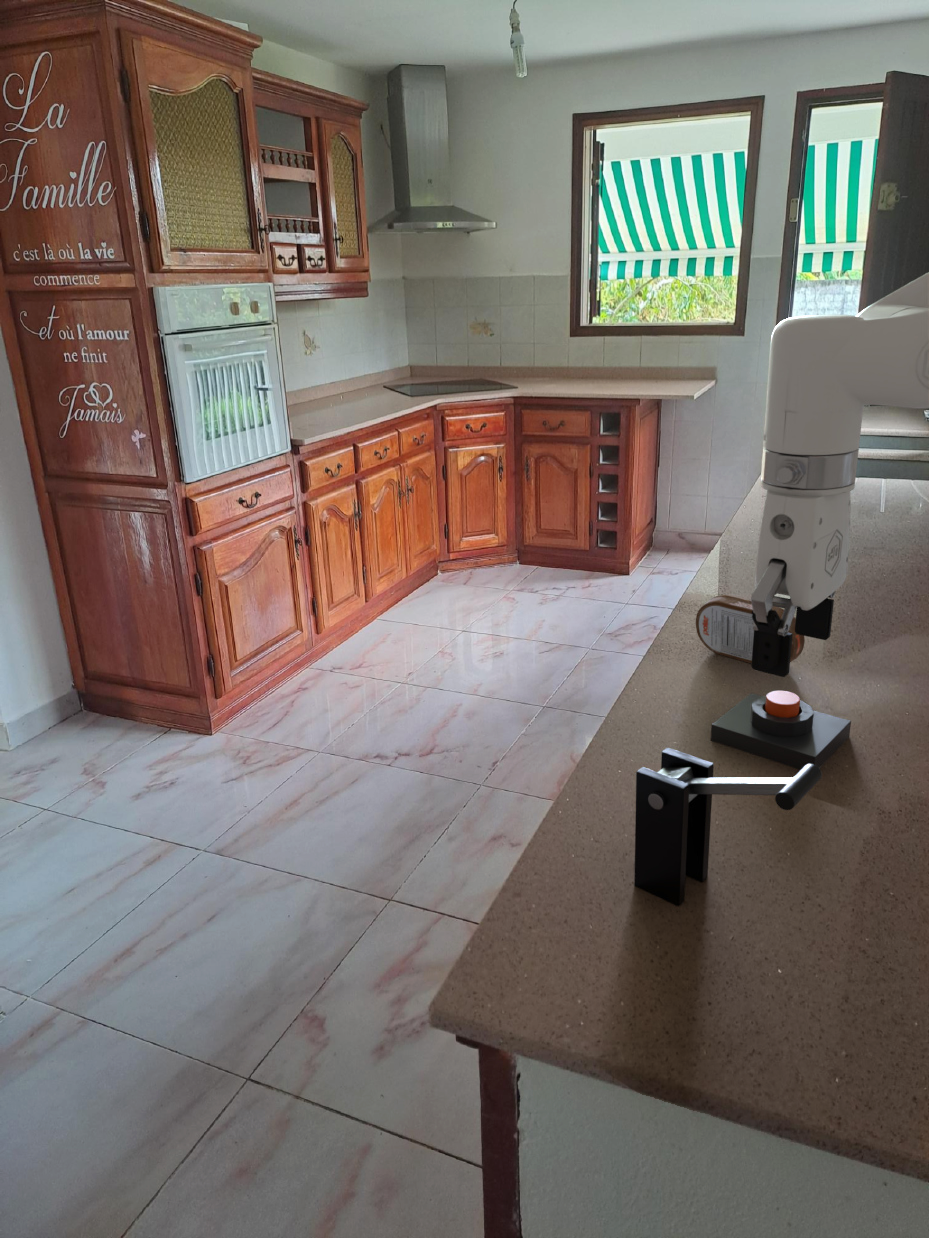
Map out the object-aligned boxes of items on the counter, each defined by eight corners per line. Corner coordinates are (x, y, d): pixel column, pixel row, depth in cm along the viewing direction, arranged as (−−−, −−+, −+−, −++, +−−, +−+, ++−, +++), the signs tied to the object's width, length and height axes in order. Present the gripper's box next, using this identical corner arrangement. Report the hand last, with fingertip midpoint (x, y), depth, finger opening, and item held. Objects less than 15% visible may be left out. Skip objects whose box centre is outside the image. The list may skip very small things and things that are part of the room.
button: (804, 709, 100) (805, 695, 99) (790, 721, 97) (791, 707, 96) (773, 701, 102) (774, 687, 101) (759, 712, 99) (760, 698, 99)
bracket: (752, 892, 77) (762, 765, 72) (702, 949, 71) (709, 815, 66) (643, 845, 84) (646, 726, 79) (589, 893, 78) (588, 768, 73)
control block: (849, 737, 100) (852, 706, 99) (813, 775, 94) (816, 742, 92) (750, 708, 108) (752, 679, 107) (710, 741, 101) (712, 710, 100)
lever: (825, 786, 67) (817, 757, 66) (798, 816, 63) (789, 786, 63) (679, 786, 76) (671, 760, 76) (648, 812, 73) (640, 785, 73)
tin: (803, 669, 117) (808, 611, 114) (792, 678, 115) (797, 618, 112) (702, 642, 127) (705, 588, 124) (691, 649, 125) (693, 594, 122)
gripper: (814, 496, 66) (795, 699, 72) (887, 454, 78) (865, 632, 84) (720, 485, 71) (710, 677, 77) (803, 447, 83) (788, 616, 89)
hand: (791, 653), depth 81 cm, fingers open, 9 cm apart
